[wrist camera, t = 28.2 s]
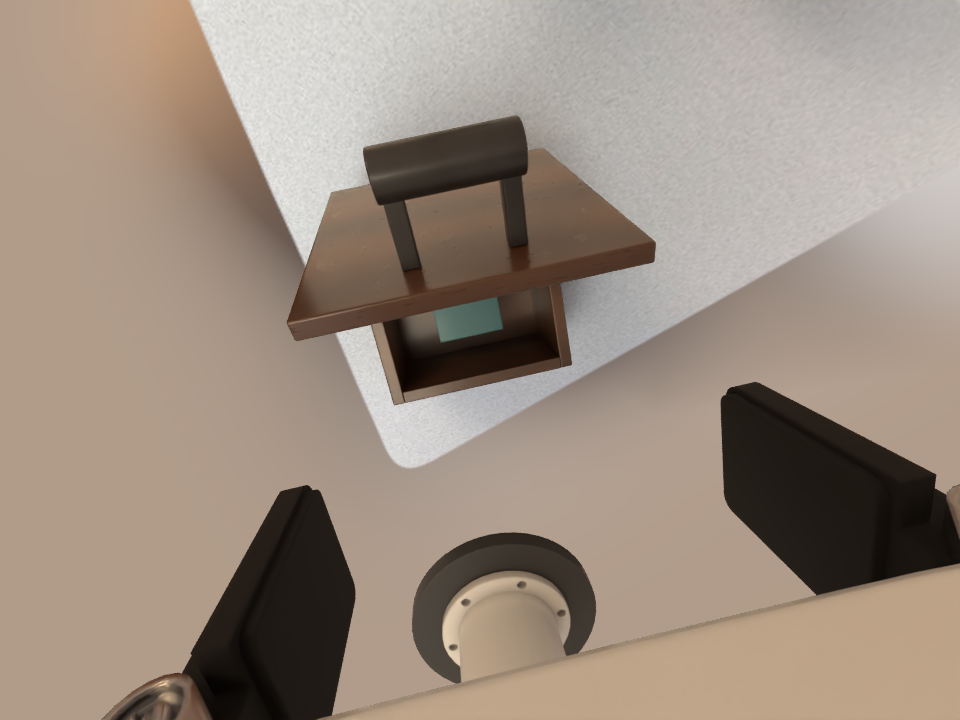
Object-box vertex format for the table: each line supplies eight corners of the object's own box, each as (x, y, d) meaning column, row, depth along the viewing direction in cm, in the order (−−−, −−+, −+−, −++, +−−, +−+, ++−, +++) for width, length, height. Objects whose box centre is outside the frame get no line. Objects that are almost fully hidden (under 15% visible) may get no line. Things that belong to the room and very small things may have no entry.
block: (484, 259, 36) (491, 265, 32) (495, 315, 37) (503, 329, 33) (426, 271, 36) (425, 279, 31) (439, 328, 37) (440, 343, 33)
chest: (546, 336, 39) (572, 365, 32) (401, 369, 39) (393, 405, 31) (518, 168, 35) (541, 155, 27) (355, 202, 34) (334, 199, 27)
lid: (655, 263, 16) (668, 100, 13) (295, 342, 15) (220, 194, 12) (544, 161, 27) (537, 62, 24) (335, 205, 27) (301, 111, 24)
